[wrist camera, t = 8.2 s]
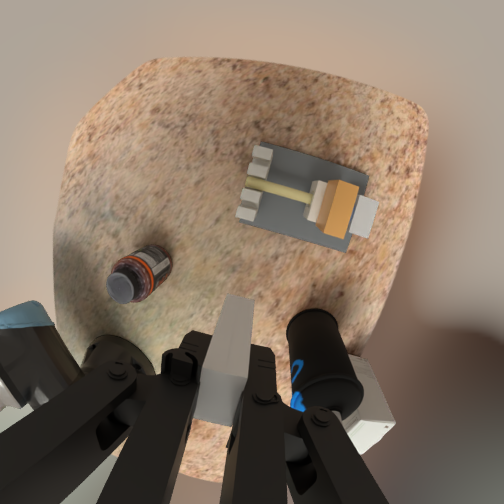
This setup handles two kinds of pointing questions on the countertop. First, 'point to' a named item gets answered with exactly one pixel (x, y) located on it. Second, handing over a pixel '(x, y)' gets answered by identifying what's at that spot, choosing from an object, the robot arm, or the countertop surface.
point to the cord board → (298, 195)
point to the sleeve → (331, 206)
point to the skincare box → (368, 410)
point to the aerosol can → (321, 365)
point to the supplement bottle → (138, 274)
